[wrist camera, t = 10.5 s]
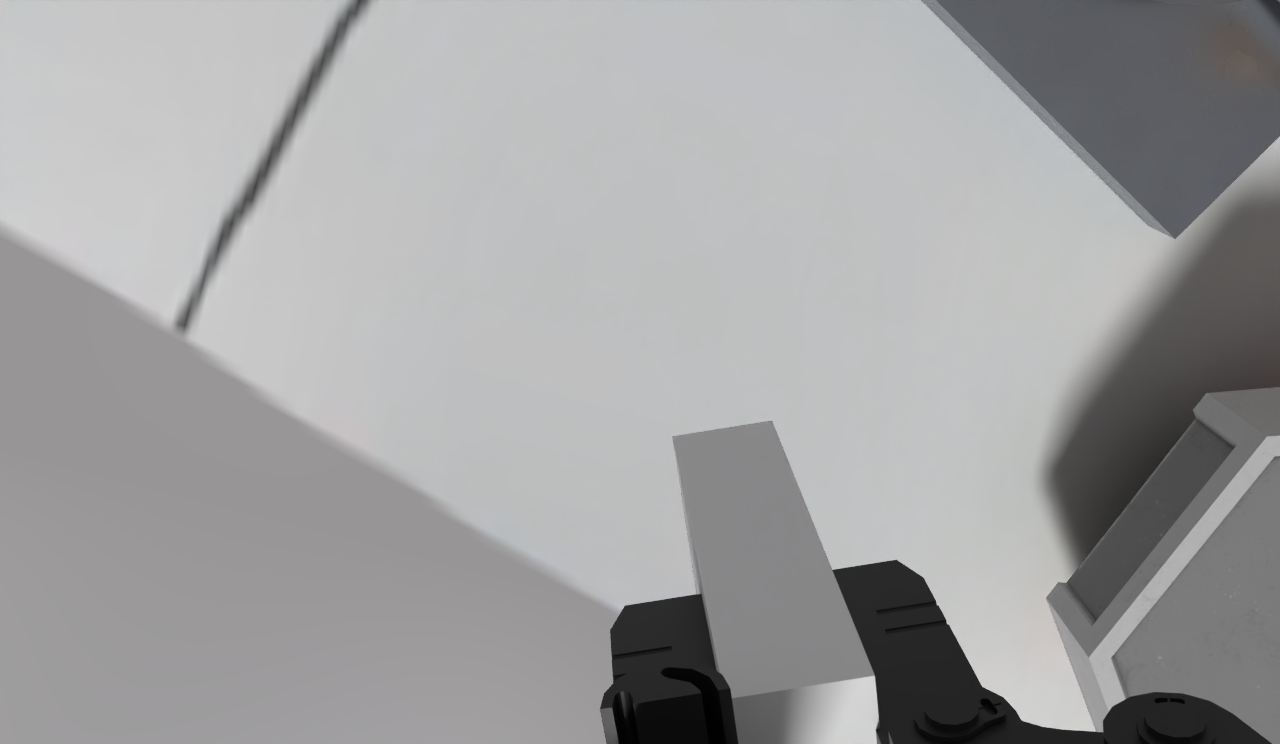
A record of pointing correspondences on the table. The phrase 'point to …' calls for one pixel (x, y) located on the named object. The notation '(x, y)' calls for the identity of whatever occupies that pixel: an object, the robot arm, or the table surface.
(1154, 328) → the table surface
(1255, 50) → the base
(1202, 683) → the first aid kit
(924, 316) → the table surface
